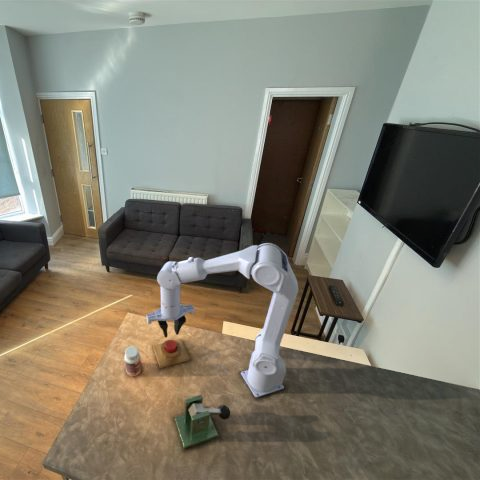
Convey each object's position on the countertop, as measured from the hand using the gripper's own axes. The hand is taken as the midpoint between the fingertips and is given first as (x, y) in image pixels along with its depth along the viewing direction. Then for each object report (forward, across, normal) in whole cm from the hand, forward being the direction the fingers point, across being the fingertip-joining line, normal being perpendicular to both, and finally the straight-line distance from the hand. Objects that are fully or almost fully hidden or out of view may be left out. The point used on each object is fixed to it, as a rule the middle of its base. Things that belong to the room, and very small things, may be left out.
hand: (170, 333), depth 82 cm
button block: (+9, 0, 0) cm, 9 cm away
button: (+7, 0, 0) cm, 7 cm away
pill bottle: (+10, +13, +2) cm, 16 cm away
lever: (+6, -2, +23) cm, 24 cm away
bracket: (+9, +1, +23) cm, 25 cm away
